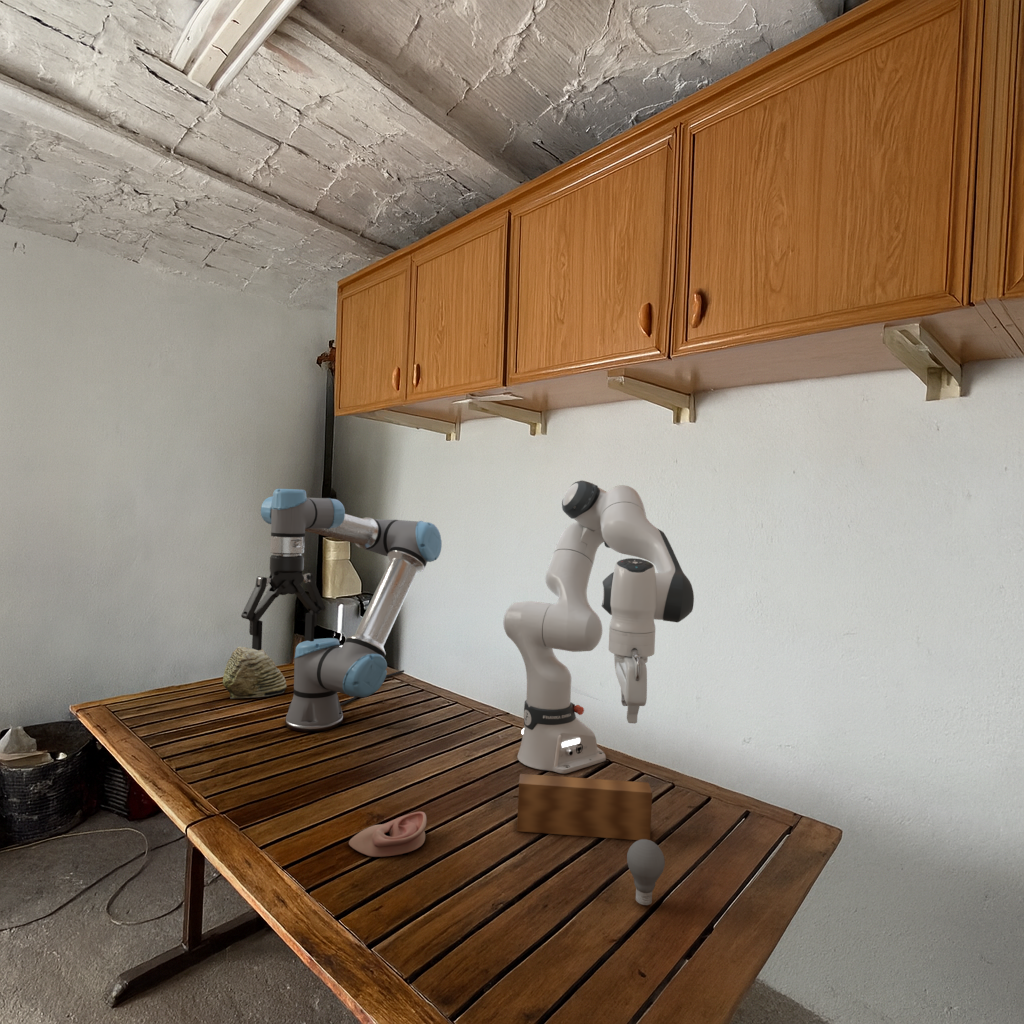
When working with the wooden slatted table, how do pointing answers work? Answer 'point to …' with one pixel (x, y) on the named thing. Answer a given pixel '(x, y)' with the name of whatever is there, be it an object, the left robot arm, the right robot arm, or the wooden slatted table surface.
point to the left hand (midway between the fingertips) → (283, 644)
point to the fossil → (252, 674)
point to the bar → (584, 807)
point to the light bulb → (645, 868)
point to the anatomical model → (392, 836)
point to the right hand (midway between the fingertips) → (628, 713)
